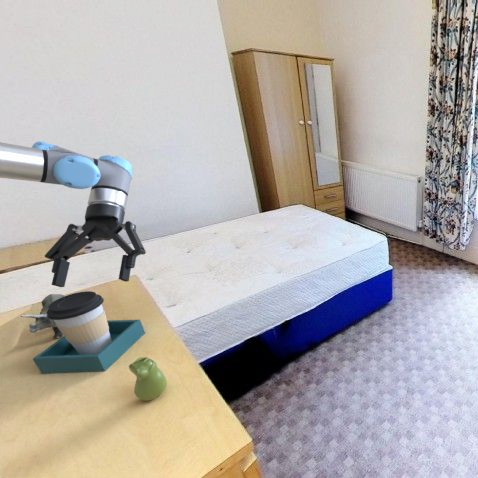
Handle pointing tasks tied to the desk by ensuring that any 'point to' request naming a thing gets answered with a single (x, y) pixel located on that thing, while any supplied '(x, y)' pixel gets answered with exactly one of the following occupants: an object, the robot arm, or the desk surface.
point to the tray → (69, 361)
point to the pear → (148, 379)
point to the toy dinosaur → (45, 317)
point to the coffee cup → (82, 321)
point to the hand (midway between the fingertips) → (91, 283)
